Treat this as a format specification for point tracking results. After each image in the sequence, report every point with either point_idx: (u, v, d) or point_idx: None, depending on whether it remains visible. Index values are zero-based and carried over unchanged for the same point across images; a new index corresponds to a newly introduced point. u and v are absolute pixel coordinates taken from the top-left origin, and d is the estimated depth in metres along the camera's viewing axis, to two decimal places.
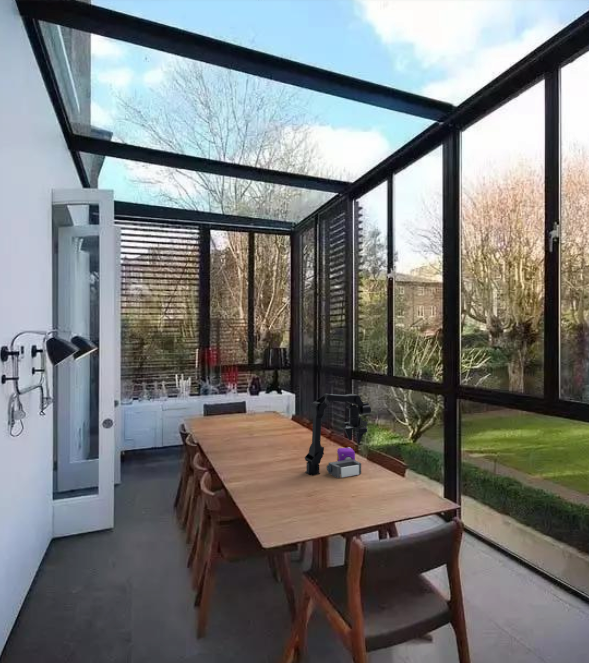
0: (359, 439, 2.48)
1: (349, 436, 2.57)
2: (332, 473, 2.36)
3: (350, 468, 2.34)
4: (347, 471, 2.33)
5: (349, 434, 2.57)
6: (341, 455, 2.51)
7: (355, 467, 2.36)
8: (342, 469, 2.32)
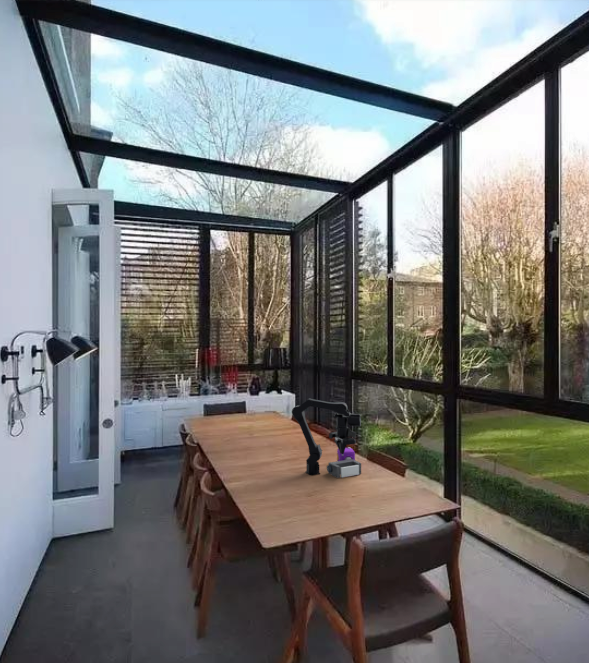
0: (343, 449, 2.35)
1: None
2: (332, 473, 2.36)
3: (350, 468, 2.34)
4: (347, 471, 2.33)
5: None
6: (341, 455, 2.51)
7: (355, 467, 2.36)
8: (342, 469, 2.32)
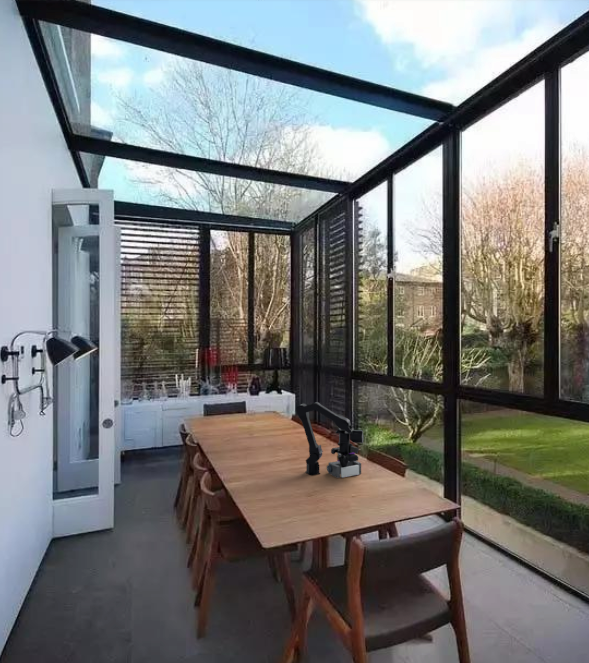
0: (344, 465, 2.34)
1: None
2: (332, 473, 2.36)
3: (350, 468, 2.34)
4: (347, 471, 2.33)
5: None
6: None
7: (355, 467, 2.36)
8: (342, 469, 2.32)
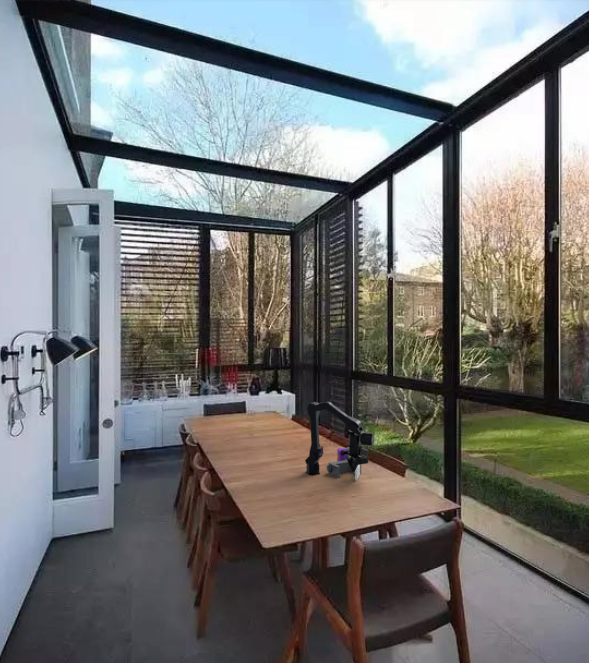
0: (354, 468, 2.30)
1: None
2: (332, 473, 2.36)
3: (358, 469, 2.32)
4: (357, 473, 2.30)
5: None
6: None
7: (359, 467, 2.35)
8: (356, 472, 2.27)
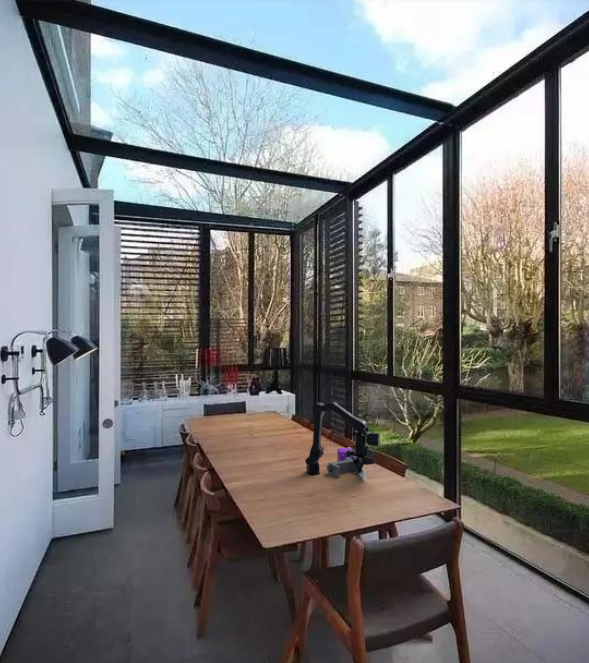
0: (360, 468, 2.29)
1: None
2: (332, 473, 2.36)
3: None
4: None
5: None
6: (341, 455, 2.51)
7: None
8: (364, 472, 2.27)
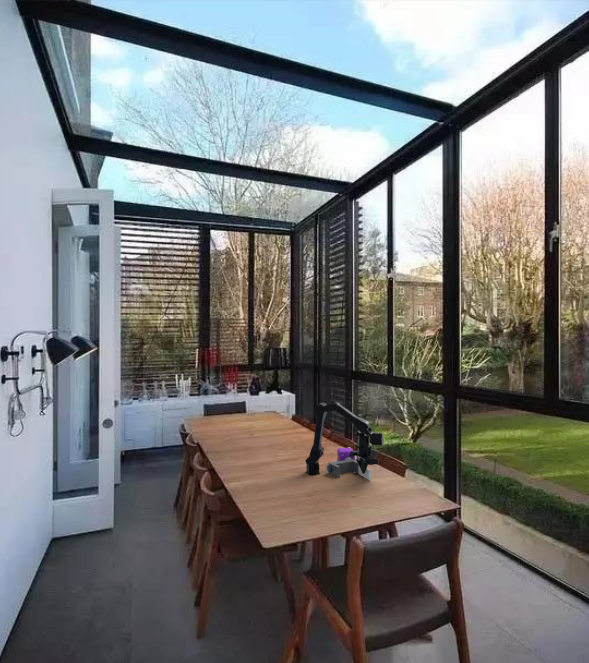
0: (364, 469, 2.28)
1: None
2: (332, 473, 2.36)
3: None
4: None
5: None
6: (341, 455, 2.51)
7: None
8: None
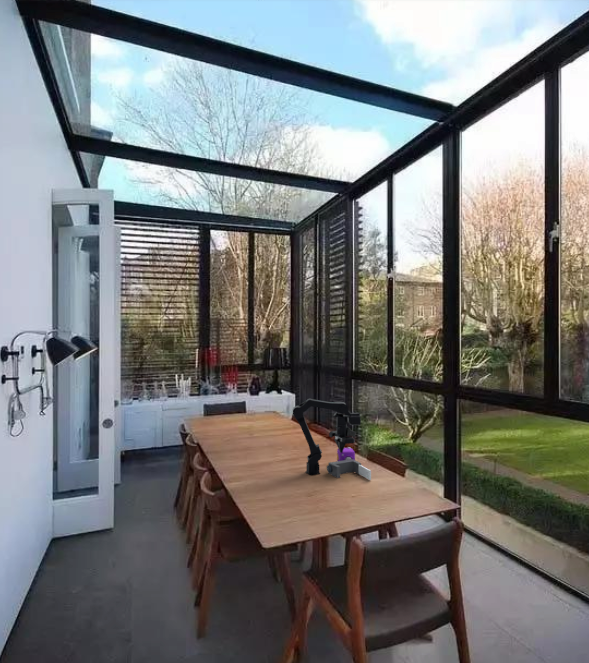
0: (342, 448, 2.39)
1: None
2: (332, 473, 2.36)
3: None
4: None
5: None
6: (341, 455, 2.51)
7: None
8: None
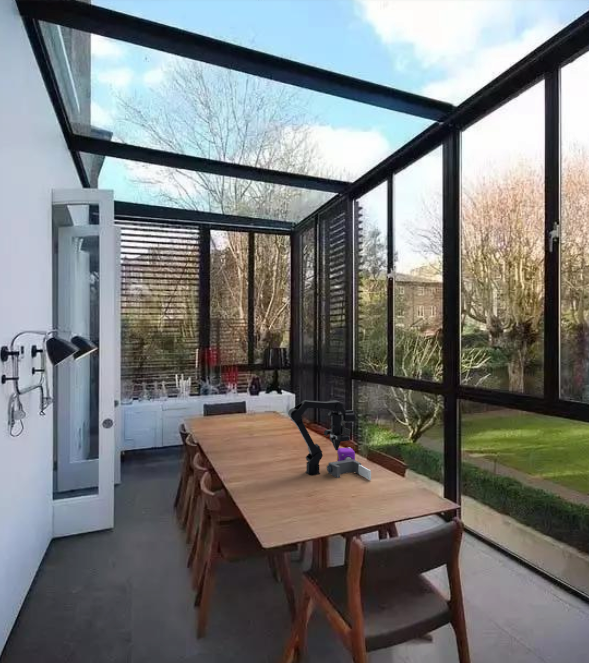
0: (337, 446, 2.42)
1: None
2: (332, 473, 2.36)
3: None
4: None
5: None
6: (341, 455, 2.51)
7: None
8: None
